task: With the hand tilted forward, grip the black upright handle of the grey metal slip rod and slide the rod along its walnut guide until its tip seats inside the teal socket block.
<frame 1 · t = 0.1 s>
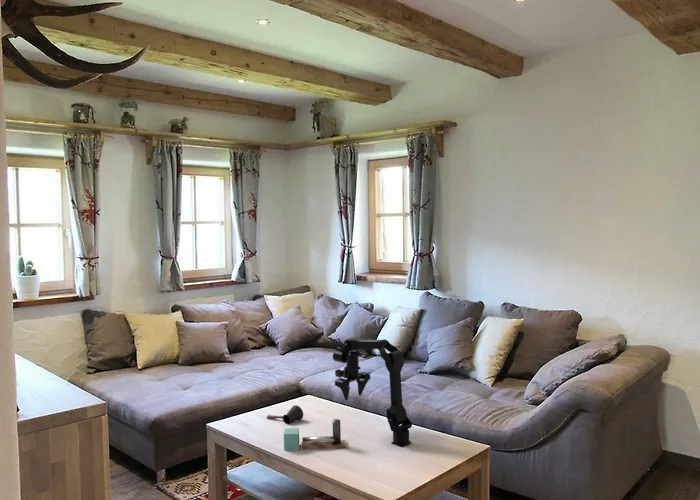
hand: (353, 397, 269), 15 cm above the table, tool pointing down, fingers open, 9 cm apart
socket block: (291, 447, 249), on the table
slip rod: (323, 432, 249), point 6 cm above the table, slide at 0.0 cm
guide: (324, 445, 250), on the table
black handbell: (284, 420, 285), on the table
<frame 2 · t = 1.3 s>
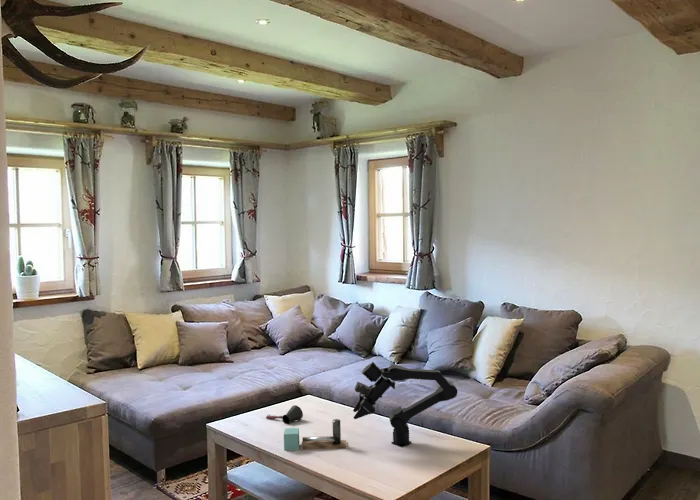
hand: (354, 414, 249), 13 cm above the table, tool tilted 45°, fingers open, 9 cm apart
nothing on the table moved.
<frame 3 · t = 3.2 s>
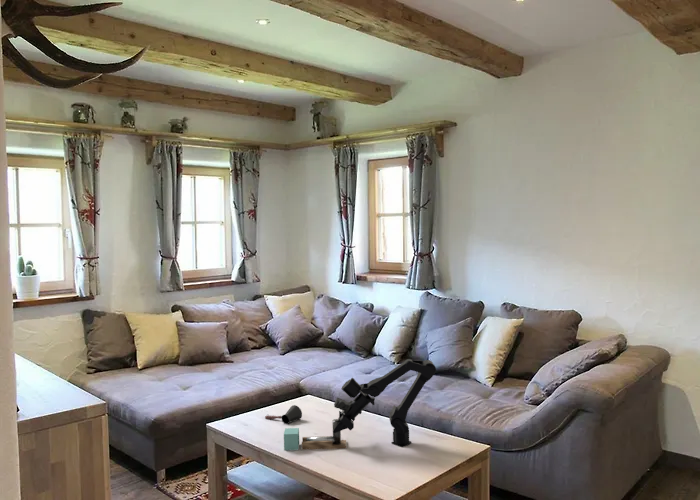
hand: (333, 430, 249), 7 cm above the table, tool tilted 45°, fingers closed on slip rod, 3 cm apart
slip rod: (323, 432, 249), point 6 cm above the table, slide at 0.0 cm, touching gripper
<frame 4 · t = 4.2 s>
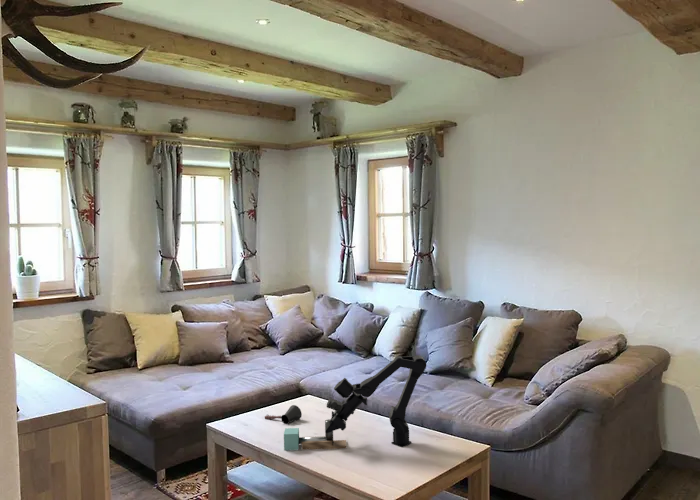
hand: (325, 430, 249), 7 cm above the table, tool tilted 45°, fingers closed on slip rod, 3 cm apart
slip rod: (316, 432, 249), point 6 cm above the table, slide at 3.2 cm, touching gripper
everything else where it was.
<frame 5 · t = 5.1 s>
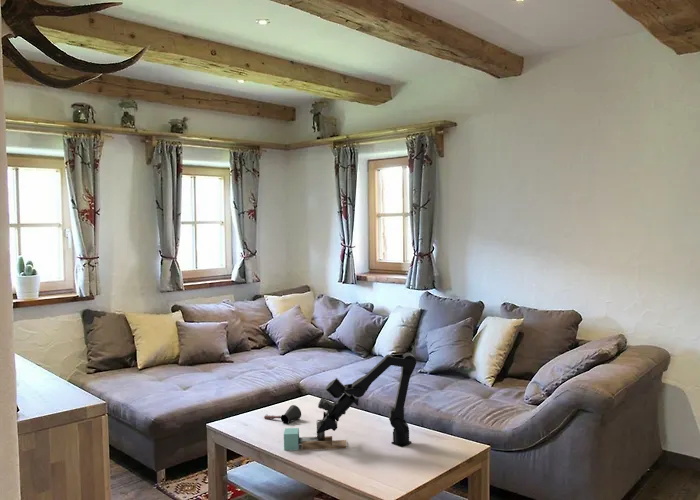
hand: (317, 431, 249), 7 cm above the table, tool tilted 45°, fingers closed on slip rod, 3 cm apart
slip rod: (307, 432, 249), point 6 cm above the table, slide at 6.9 cm, touching gripper
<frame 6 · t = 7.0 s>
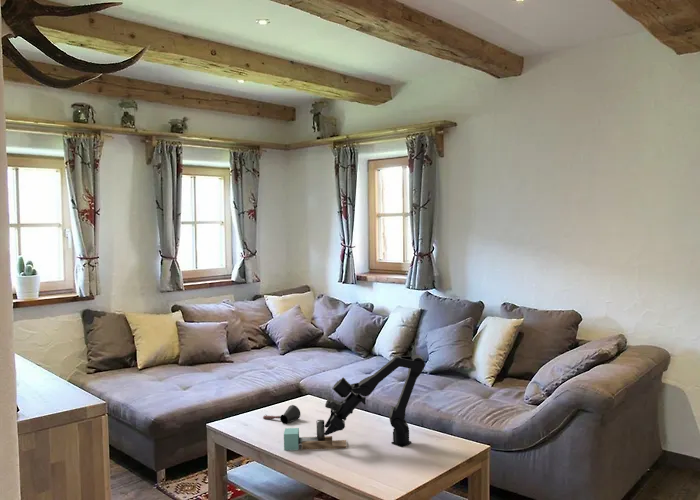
hand: (325, 430, 249), 7 cm above the table, tool tilted 45°, fingers open, 9 cm apart
slip rod: (307, 432, 249), point 6 cm above the table, slide at 6.9 cm
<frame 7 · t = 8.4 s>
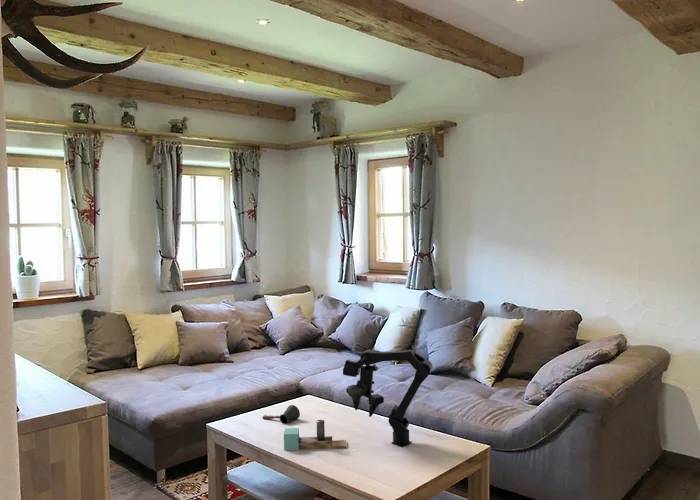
hand: (363, 413, 255), 12 cm above the table, tool pointing down, fingers open, 9 cm apart
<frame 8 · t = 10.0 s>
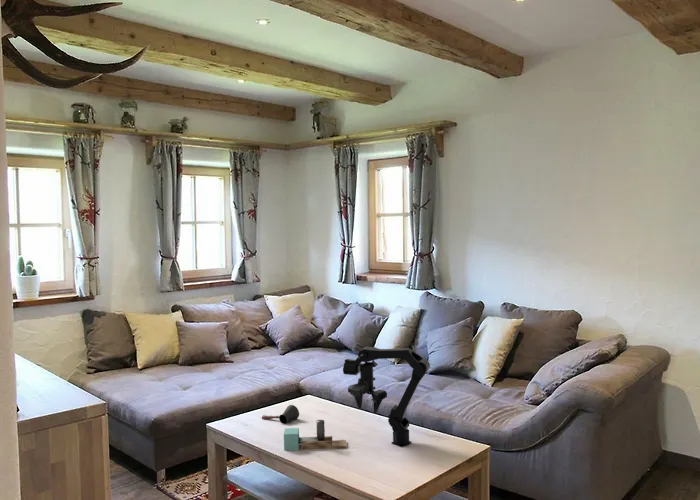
hand: (367, 410, 255), 13 cm above the table, tool pointing down, fingers open, 9 cm apart
at the end: slip rod slide at 6.9 cm; the gripper is holding nothing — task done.
